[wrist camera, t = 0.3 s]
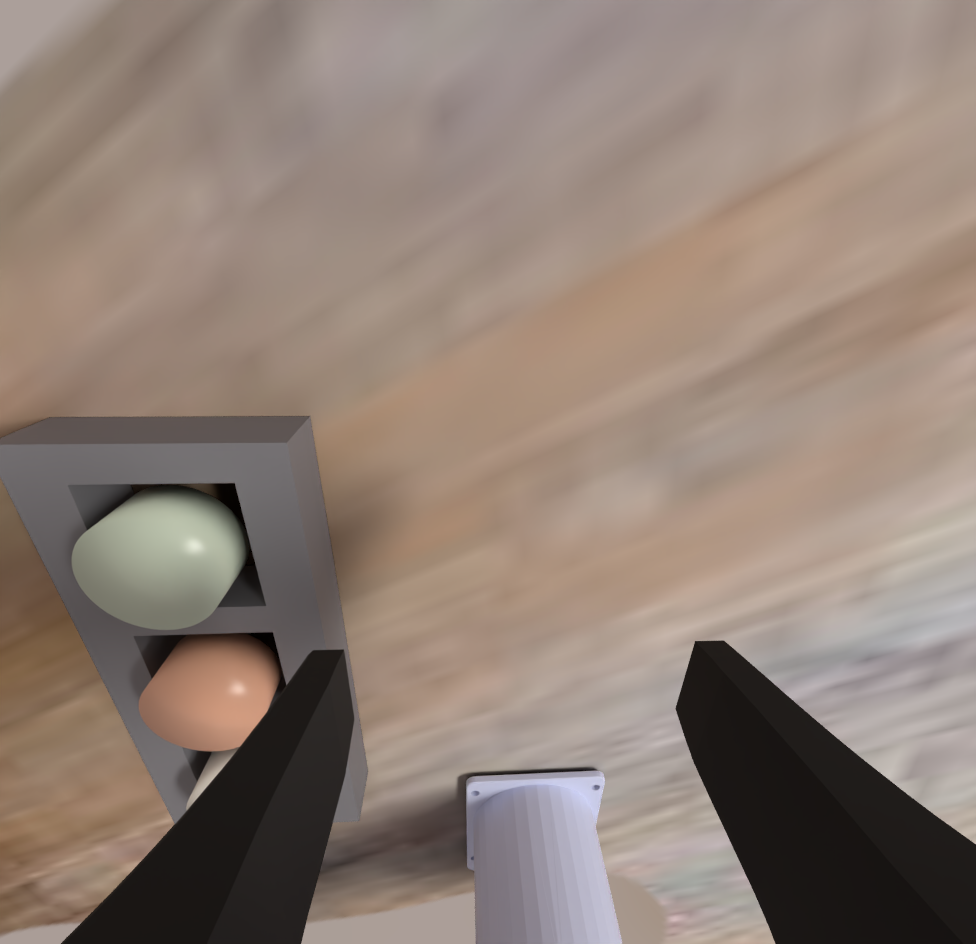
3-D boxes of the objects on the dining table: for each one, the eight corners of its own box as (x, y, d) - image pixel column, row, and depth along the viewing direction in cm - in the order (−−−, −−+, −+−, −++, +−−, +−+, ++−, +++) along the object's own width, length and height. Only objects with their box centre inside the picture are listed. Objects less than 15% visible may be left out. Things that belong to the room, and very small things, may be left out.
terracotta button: (290, 700, 21) (271, 749, 19) (187, 704, 20) (158, 753, 18) (270, 626, 19) (248, 671, 17) (158, 629, 18) (121, 675, 16)
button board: (368, 771, 26) (359, 821, 24) (203, 778, 26) (178, 830, 23) (310, 416, 17) (286, 442, 15) (49, 417, 16) (-17, 444, 14)
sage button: (260, 585, 18) (235, 628, 16) (141, 588, 18) (100, 631, 16) (234, 484, 16) (202, 518, 14) (100, 485, 16) (48, 520, 14)
